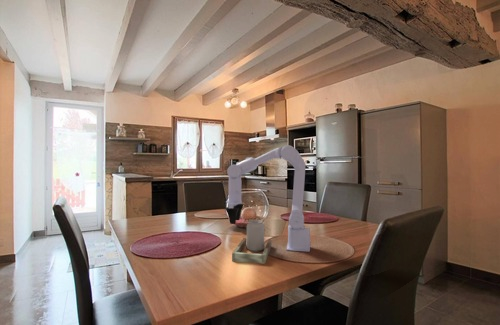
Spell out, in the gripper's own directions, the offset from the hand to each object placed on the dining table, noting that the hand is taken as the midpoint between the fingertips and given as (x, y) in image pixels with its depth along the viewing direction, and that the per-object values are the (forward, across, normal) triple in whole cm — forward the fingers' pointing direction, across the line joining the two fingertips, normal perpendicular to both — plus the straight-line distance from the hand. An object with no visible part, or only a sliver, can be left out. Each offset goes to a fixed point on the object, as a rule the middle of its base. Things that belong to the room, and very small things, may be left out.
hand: (234, 221), depth 119 cm
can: (+10, +5, +10) cm, 15 cm away
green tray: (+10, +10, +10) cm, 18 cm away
